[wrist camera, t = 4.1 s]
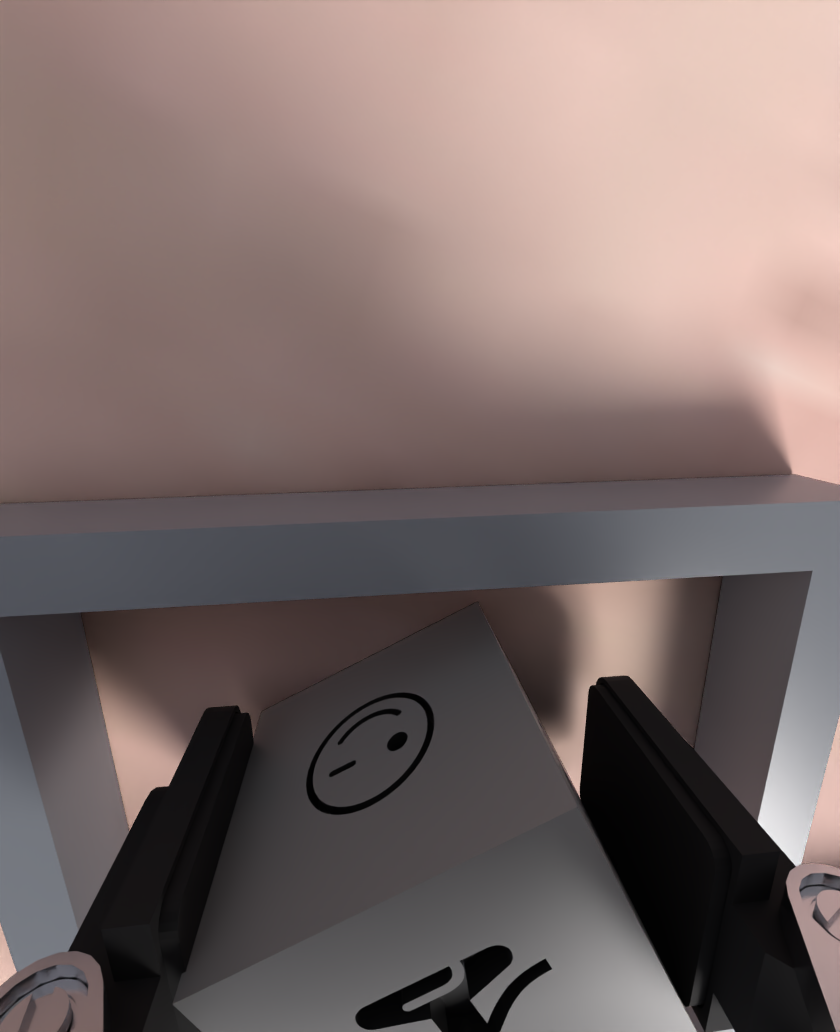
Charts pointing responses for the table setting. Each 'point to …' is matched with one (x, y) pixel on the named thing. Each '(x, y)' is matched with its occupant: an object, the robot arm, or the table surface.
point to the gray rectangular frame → (401, 570)
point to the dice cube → (419, 866)
